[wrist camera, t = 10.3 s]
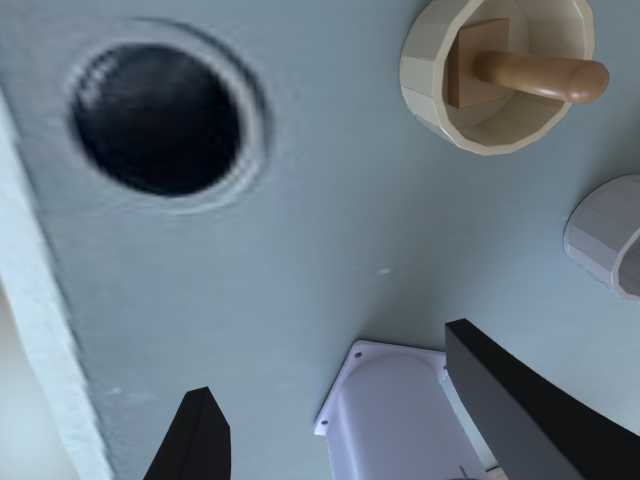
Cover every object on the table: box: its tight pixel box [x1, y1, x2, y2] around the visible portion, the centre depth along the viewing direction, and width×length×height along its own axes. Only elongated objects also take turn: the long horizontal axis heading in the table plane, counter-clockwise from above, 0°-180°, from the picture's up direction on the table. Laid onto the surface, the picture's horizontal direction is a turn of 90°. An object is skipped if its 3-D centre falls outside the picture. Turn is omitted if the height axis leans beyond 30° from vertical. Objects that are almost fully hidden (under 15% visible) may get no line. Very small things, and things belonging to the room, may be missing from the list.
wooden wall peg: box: [448, 18, 609, 109], centre depth 14 cm, size 3×2×7 cm
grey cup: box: [563, 175, 640, 302], centre depth 22 cm, size 6×6×4 cm
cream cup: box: [399, 0, 595, 156], centre depth 16 cm, size 6×6×4 cm
